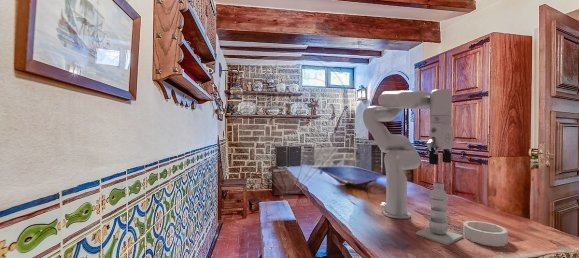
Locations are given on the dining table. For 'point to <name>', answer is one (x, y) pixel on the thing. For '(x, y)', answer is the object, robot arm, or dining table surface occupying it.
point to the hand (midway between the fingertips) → (440, 163)
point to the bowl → (485, 233)
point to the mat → (440, 236)
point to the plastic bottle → (438, 209)
